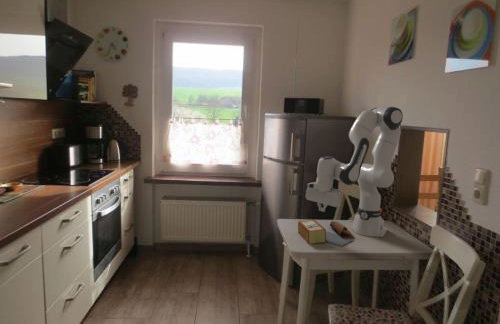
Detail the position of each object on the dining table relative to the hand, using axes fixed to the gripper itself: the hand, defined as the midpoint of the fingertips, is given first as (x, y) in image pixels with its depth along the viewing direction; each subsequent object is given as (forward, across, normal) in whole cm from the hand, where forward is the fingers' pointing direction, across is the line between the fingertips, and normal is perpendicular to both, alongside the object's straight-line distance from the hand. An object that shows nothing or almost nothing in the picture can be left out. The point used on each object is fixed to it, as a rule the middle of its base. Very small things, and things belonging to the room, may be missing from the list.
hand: (321, 211), depth 181 cm
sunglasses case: (+13, -6, -13) cm, 20 cm away
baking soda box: (+10, +7, +3) cm, 13 cm away
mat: (+14, -8, 0) cm, 16 cm away
